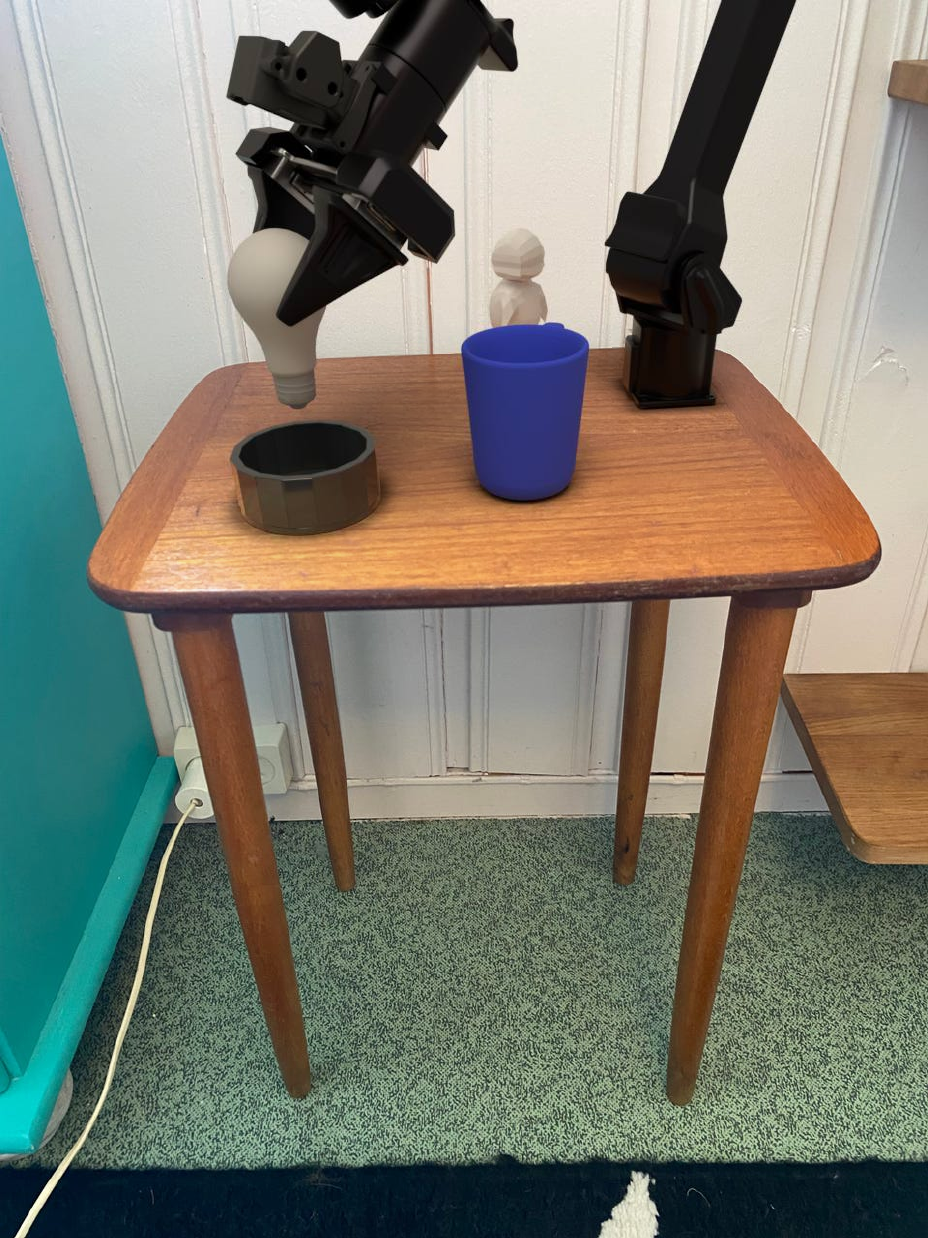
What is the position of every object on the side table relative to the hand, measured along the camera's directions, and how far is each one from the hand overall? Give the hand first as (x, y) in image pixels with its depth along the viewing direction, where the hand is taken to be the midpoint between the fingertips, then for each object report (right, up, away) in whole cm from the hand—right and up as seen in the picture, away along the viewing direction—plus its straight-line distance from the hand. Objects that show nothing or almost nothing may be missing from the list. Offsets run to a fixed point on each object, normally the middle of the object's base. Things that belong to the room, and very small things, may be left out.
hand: (261, 309), depth 55 cm
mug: (+17, -8, +10) cm, 22 cm away
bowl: (+2, -11, +8) cm, 13 cm away
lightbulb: (+1, -5, +4) cm, 7 cm away
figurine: (+17, +4, +29) cm, 34 cm away
